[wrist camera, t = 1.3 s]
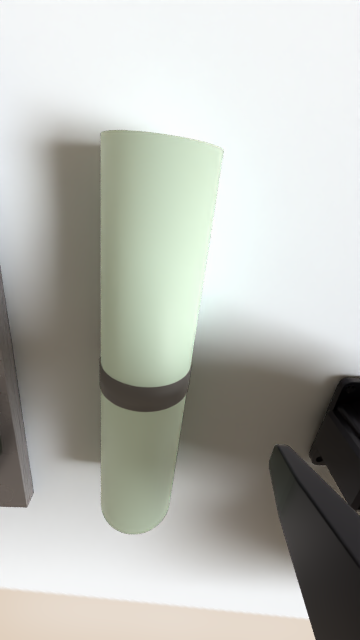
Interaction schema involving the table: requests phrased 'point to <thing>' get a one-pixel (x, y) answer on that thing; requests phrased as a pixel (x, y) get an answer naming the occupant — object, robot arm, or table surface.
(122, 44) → the table surface
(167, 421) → the tube
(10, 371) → the saddle plate
